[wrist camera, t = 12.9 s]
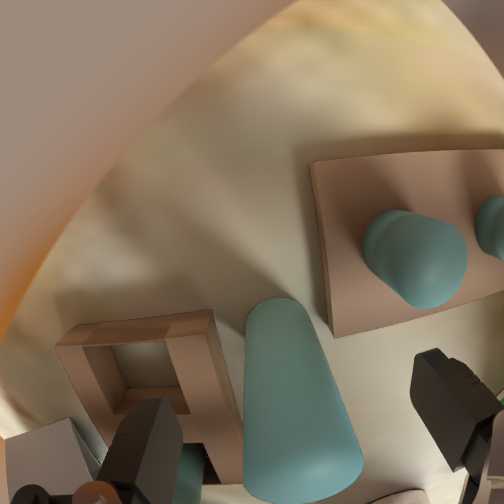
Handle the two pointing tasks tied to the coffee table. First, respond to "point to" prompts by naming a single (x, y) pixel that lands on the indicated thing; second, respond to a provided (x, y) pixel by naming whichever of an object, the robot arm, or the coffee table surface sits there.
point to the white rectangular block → (49, 459)
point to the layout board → (411, 190)
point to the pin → (293, 411)
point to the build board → (164, 392)
